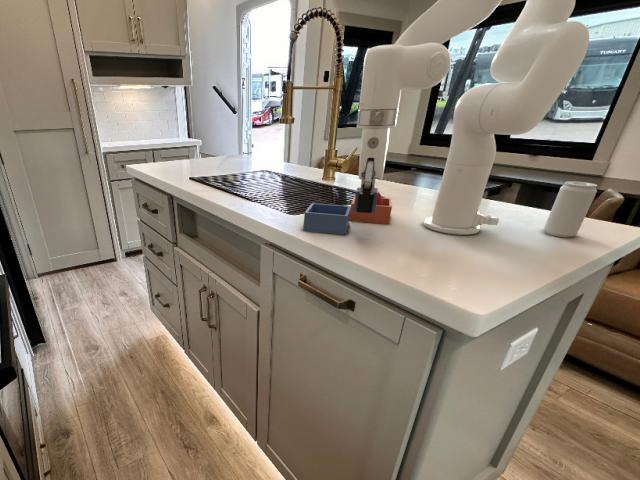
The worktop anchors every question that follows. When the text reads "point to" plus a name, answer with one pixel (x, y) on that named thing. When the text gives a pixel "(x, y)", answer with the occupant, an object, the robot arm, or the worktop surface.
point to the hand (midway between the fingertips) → (364, 208)
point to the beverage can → (570, 208)
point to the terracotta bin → (379, 216)
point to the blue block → (373, 200)
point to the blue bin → (327, 218)
